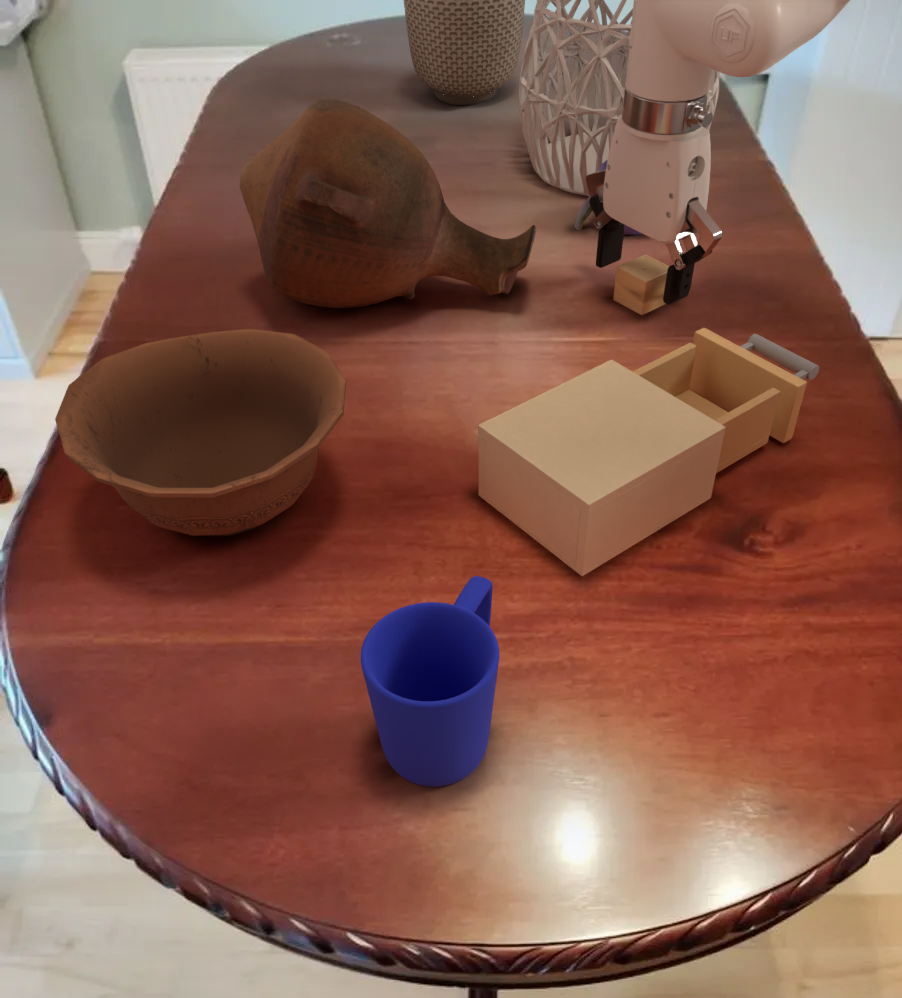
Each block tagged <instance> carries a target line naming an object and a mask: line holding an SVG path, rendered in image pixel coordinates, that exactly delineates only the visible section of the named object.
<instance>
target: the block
mask: <svg viewBox="0 0 902 998" xmlns="http://www.w3.org/2000/svg"><path fill="white" fill-rule="evenodd" d="M669 266H670V265H668V264H666V263H664V262H662V261H660V260H658V259H656V258H654V257H652V256H650V255H648V254H646V253H644V254H642V255H640V256H637V257H635V258H633V259H631V260H628V261H626V262H623V263H621V264H619V265H617V266H616V269H615V279H614V289H613V298H612V299H613V301H614V302H616V303H618V304H620V305H622V306H623V307H625V308H628V309H629V310H631V311H633V312H635V313H637V314H639V315H641V316H644V315H646V314H648V313H649V312H652V311H654V310H656V309H658V308H660V307H662V306H664V305H667V304H666V303H664V301H663V296H664V289H665V283H666V276H667V270H668V267H669Z"/></svg>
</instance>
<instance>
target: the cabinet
mask: <svg viewBox="0 0 902 998" xmlns="http://www.w3.org/2000/svg"><path fill="white" fill-rule="evenodd" d="M632 371H633V370H630V369H629V368H627V367H626V366H624V365H622V364H621V363H618V362H617V361H615V360H613V359H609V360H607V361H606V362H603V363H600V364H598V365H597V366H595V367H593V368H590V369H589V370H586V371H585V372H582V373H580V374H579V375H576V376H575V377H573V378H570V379H568V380H567V381H563V382H562V383H560V384H558V385H557V386H554V387H552V388H550V389H548V390H546V391H544V392H542V393H540V394H538V395H536V396H533V397H532V398H529V399H528V400H526V401H524V402H522V403H520V404H518V405H516V406H513V407H511V408H510V409H507V410H505V411H504V412H501V413H499V414H498V415H497V414H496V415H495V416H493V417H491V418H489V419H487V420H485V421H483V422H481V423H479V424H478V425H477V433H478V434H477V435H478V437H477V438H478V439H477V440H478V441H477V442H478V443H477V445H478V447H477V449H478V450H477V451H478V454H477V456H478V457H477V458H478V492H477V493H478V497H480V498H481V499H482V500H484V501H485V502H486V503H488V504H489V505H490V506H491V507H493V508H494V509H495V510H496V511H498V512H499V513H500V514H502V515H503V516H504V517H505V518H507V519H508V520H509V521H510V522H512V523H513V524H515V526H517V527H518V528H520V529H521V530H522V531H523V532H525V533H526V534H527V535H529V537H531V538H532V539H533V540H535V542H537V543H539V544H540V545H541V546H542V547H544V548H545V550H547V551H549V552H550V553H552V555H554V556H555V557H557V558H558V559H559V560H561V561H562V562H563V563H564V564H566V565H567V566H568V567H569V568H570V569H572V570H573V571H574V572H576V574H578V575H579V576H581V577H583V576H585V575H587V574H588V573H591V571H593V570H595V569H597V568H598V567H600V566H602V565H604V564H605V563H607V562H608V561H610V560H612V559H613V558H615V557H617V556H618V555H620V554H621V553H623V552H625V551H626V550H628V549H629V548H631V547H633V546H634V545H636V544H638V543H640V542H641V541H643V540H644V539H646V538H648V537H650V536H651V535H653V534H654V533H656V532H658V531H660V530H661V529H662V528H664V527H666V526H667V525H669V524H670V523H671V524H672V522H674V521H676V520H677V519H678V518H681V517H682V516H684V515H686V514H688V513H689V512H691V511H692V510H693V509H695V508H697V507H698V506H700V505H702V504H703V503H705V502H707V501H709V500H710V499H712V494H713V489H714V485H715V480H716V475H717V473H716V471H717V466H718V462H719V457H720V452H721V447H722V443H723V438H724V433H725V429H726V427H725V426H723V425H722V424H720V423H718V422H716V421H715V420H713V419H711V418H710V417H708V416H706V415H705V414H703V413H701V412H700V411H698V410H696V409H695V408H693V407H691V406H690V405H688V404H686V403H684V402H683V401H681V400H679V399H678V398H676V397H674V396H673V395H671V394H669V393H668V392H666V391H664V390H663V389H661V388H659V387H657V386H656V385H654V384H652V383H651V382H649V381H647V380H646V379H644V378H642V377H641V376H639V375H637V374H636V373H634V372H632Z"/></svg>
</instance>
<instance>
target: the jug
mask: <svg viewBox="0 0 902 998" xmlns="http://www.w3.org/2000/svg"><path fill="white" fill-rule="evenodd" d="M239 190H240V192H241V196H242V199H243V202H244V204H245V205H244V206H245V208H246V210H247V213H248V215H249V218H250V222H251V225H252V227H253V230H254V234H255V238H256V242H257V245H258V249H259V255H260V259H261V263H262V268H263V271H264V272H263V273H264V275H265V280H266V281H267V283H268V285H269V287H270V288H271V289H272V290H274V291H275V292H276V293H278V294H280V295H282V296H283V297H285V298H287V299H290V300H293V301H295V302H299V303H302V304H306V305H311V306H315V307H319V308H321V307H322V308H328V309H354V308H361V307H367V306H371V305H375V304H378V303H382V302H385V301H388V300H391V299H392V298H396V297H402V298H404V299H405V300H409V301H411V300H413V299H414V298H415V297H416V293H415V289H416V285H417V284H418V283H419V282H420V281H421V280H423V279H426V278H428V277H434V276H436V277H446V278H451V279H455V280H459V281H462V282H465V283H468V284H470V285H473V286H475V287H477V288H478V289H480V290H482V291H483V292H485V293H486V294H487V295H488V296H493V295H498V294H504V295H507V294H509V293H510V292H511V290H512V288H513V285H514V283H515V280H516V277H517V276H518V272H520V271H522V270H523V269H525V268H526V267H527V266H528V263H529V262H530V261H529V260H530V257H531V252H532V250H533V246H534V241H535V238H536V233H537V226H536V224H533V225H531V226H530V227H529V228H528V229H527V230H525V231H524V232H523V233H521V234H519V235H516V236H515V237H511V238H500V237H495V236H492V235H490V234H487V233H485V232H483V231H480V230H478V229H476V228H474V227H472V226H470V225H468V224H466V223H465V222H463V221H461V220H460V219H459V218H458V217H456V215H454V214H453V213H452V212H451V210H450V209H449V206H448V205H447V203H446V202H445V199H444V195H443V191H442V188H441V185H440V182H439V180H438V178H437V175H436V173H435V170H434V169H433V167H432V166H431V164H430V162H429V161H428V159H427V158H426V157H425V155H424V154H423V152H422V151H421V150H420V149H419V148H418V147H417V146H416V145H415V144H414V142H412V141H411V139H409V138H408V137H407V136H406V135H404V134H403V133H401V132H400V131H399V130H398V129H396V128H395V127H393V126H392V125H390V124H389V123H388V122H386V121H384V120H383V119H381V118H379V116H376V115H375V114H372V113H371V112H370V111H368V110H367V109H364V108H361V107H360V106H358V105H355V104H352V103H350V102H346V101H343V100H339V99H334V98H323V99H318V100H316V101H315V102H313V103H312V104H310V105H309V106H308V107H307V108H306V109H305V110H304V111H303V112H302V113H301V114H300V116H299V117H297V118H296V119H295V120H294V122H292V123H291V124H290V126H289V127H288V128H286V129H285V130H284V131H283V132H282V133H280V134H279V135H278V136H276V138H274V139H272V141H271V142H270V143H269V144H268V145H267V146H265V147H264V148H262V149H261V151H259V152H258V153H257V154H256V155H255V156H253V157H251V158H250V159H249V160H248V162H247V163H245V164H244V166H243V167H242V170H241V174H240V177H239Z"/></svg>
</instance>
